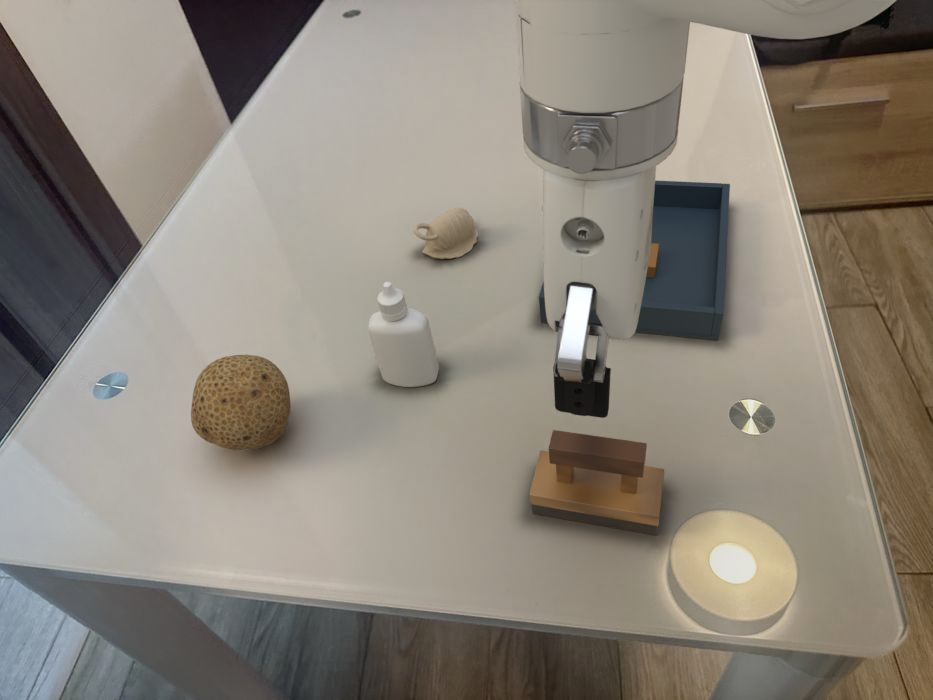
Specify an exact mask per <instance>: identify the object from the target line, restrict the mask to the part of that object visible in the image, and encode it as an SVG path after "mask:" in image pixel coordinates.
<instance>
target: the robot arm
mask: <svg viewBox="0 0 933 700" xmlns="http://www.w3.org/2000/svg"><path fill="white" fill-rule="evenodd" d="M513 1H514V3H513V4H514V14H515V15H514V17H515V30H516V42H517V57H518V70H519V71H518V75H519V95H520V96H519V97H520V110H521V111H520V112H521V126H522V127H521V128H522V141H523V149H524V153H525V154H526V156H527V157H528V159H529V160H531V162H532V163H533V164H535V165H536V166H537V167H539V168H540V169H542V170H543V171H542V172H543V173H542V174H543V176H542V178H543V180H542V182H543V183H542V205H541V212H542V260H543V261H542V268H543V281H544V297H545V309H546V317H547V322H548V323H547V324H548V325H549V327H550V328H551V329H552V331H554V332H555V333H557V337H556V338H557V339H556V348H555V354H554V355H555V356H554V363H553V367H552V369H553V371H552V372H553V393H554V396H553V397H554V408H555V410H556V411H557V412H561V413H568V414H572V415H574V416H579V417H580V416H581V417H595V418H599V419H600V418H601V419H602V418H604V419H605V418H607V417H608V415H609V410H610V395H611V375H612V374H611V373H612V370H611V369H612V368H611V367H607V358H608V350H609V342H610V339H611V340H622V341H627V340H629V339H630V338H632V336H633V335H635V333H636V332H635V331H636V328H637V324H638V319H639V314H640V308H641V303H642V297H643V292H644V286H645V281H646V275H647V269H648V263H649V256H650V249H651V237H652V217H653V204H654V191H655V181H656V173H657V166H658V165H660V164H661V163H663V162H664V161H666V159H667V158H668V157H669V156H671V155H672V154H673V152H674V150H675V148H676V146H677V143H678V138H679V137H678V136H679V125H680V115H681V107H682V97H683V87H684V80H685V79H684V78H685V71H686V63H687V55H688V54H687V53H688V45H689V35H690V26H691V23H694V24H700V25H703V26H708V27H712V28H717V29H722V30H726V31H731V32H735V33H740V34H745V35H750V36H756V37H764V38H770V39H779V40H807V39H816V38H822V37H828V36H832V35H837V34H840V33H843V32H845V31H848V30H851V29H853V28H856V27H858V26H860V25H862V24H865V23H866V22H869V21H870V20H872V19H874V18H875V17H877V16H879V15H880V14H881V13H882V12H884V11H886V10H887V9H888V8H889V7H891V6H892V5H893V4H894V3H895V2H897V0H513ZM593 310H596V314H597V316H598V318H599V320H600V322H601V324H597V323H591V317H592V311H593ZM589 336H593V337H597V341H596V350H595V359H593V358H588V357H587V350H588V341H589Z"/></svg>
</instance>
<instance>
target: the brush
mask: <svg viewBox="0 0 933 700" xmlns="http://www.w3.org/2000/svg"><path fill="white" fill-rule="evenodd" d="M647 445H648V444H647V442H643V441H641V442H640V441H635V440H634V441H633V440H626V439H620V438H613V437H605V436H599V435H593V434H586V433H585V434H584V433H579V432H571V431H565V430H558V429H557V430H556V429H552V432H551V436H550V440H549V444H548V450H543V449H541V450H540V449H539V453H538V457H537V461H536V466H535V470H534V472H533V473H534V474H533V478H532V481H531V485H530V490H529V494H528V496H529V504H530V507H531V513H532V514H533V515H538V516H544V517H550V518H554V519H555V518H556V519H559V520H560V519H561V520H566V521H572V522H578V523H583V524H588V525H589V524H590V525H594V526H600V527H607V528H612V529H617V530H622V531H629V532H635V533H640V534H646V535H651V536H658V533H659V524H660V518H661V517H660V515H661V507H662V497H663V486H664V479H665V469H664V468H661V467H656V466H655V467H654V466H648V465H646V457H647Z"/></svg>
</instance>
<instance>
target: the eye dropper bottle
mask: <svg viewBox="0 0 933 700" xmlns="http://www.w3.org/2000/svg"><path fill="white" fill-rule="evenodd" d="M376 299H377V300H376V301H377V305H378V308H379V310H377V311H376V312H374V313H372V315H371V316H370V319H369V321H368V325H367V331H368V336H369V339H370V343H371V346H372V349H373V352H374V355H375V360H376V361H377V365H378V369H379V371H380V375H381V378H382V380H383V381H384V382H385V383H387V384H390V385H393V386H396V387H401V388H402V387H403V388H418V387H425V386H428V385H431V384H433V383H435V382H436V380H437V378H438V375H439V370H440V365H439V361H438V357H437V351H436V347H435V342H434V338H433V334H432V330H431V325H430V322H429V318H428V316H427V315H426V314H425V313H424V312H421V311H420V310H418V309H414V308H412V307H408V305H407V302H406V298H405V293H404V291H403V290H402V289H400V288H398V287H394V286H393V284H392V283H391V282H390V281H385V282H384V283H383V284H382V290H381V291H380V292H379V293H378V294H377V297H376Z"/></svg>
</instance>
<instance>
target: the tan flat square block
mask: <svg viewBox="0 0 933 700" xmlns="http://www.w3.org/2000/svg"><path fill="white" fill-rule="evenodd" d="M658 253H659V244H654V243H651V249H650V256H649V263H648V269H647V275H646V277H651V278H655V274H656V267H657V260H658Z"/></svg>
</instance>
